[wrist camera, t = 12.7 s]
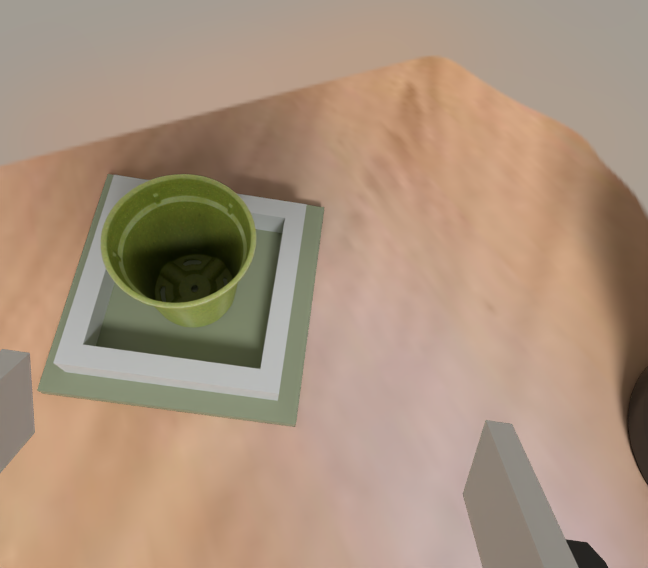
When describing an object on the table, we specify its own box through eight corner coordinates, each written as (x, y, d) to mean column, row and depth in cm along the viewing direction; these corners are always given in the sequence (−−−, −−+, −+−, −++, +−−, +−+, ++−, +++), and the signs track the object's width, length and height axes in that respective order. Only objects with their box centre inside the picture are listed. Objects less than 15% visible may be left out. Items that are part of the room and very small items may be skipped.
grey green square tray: (323, 213, 47) (327, 191, 43) (294, 426, 39) (298, 419, 36) (111, 180, 46) (99, 155, 42) (42, 393, 38) (22, 382, 35)
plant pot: (126, 245, 42) (94, 182, 34) (246, 227, 44) (243, 164, 36) (137, 359, 39) (105, 320, 31) (267, 336, 41) (268, 293, 33)
